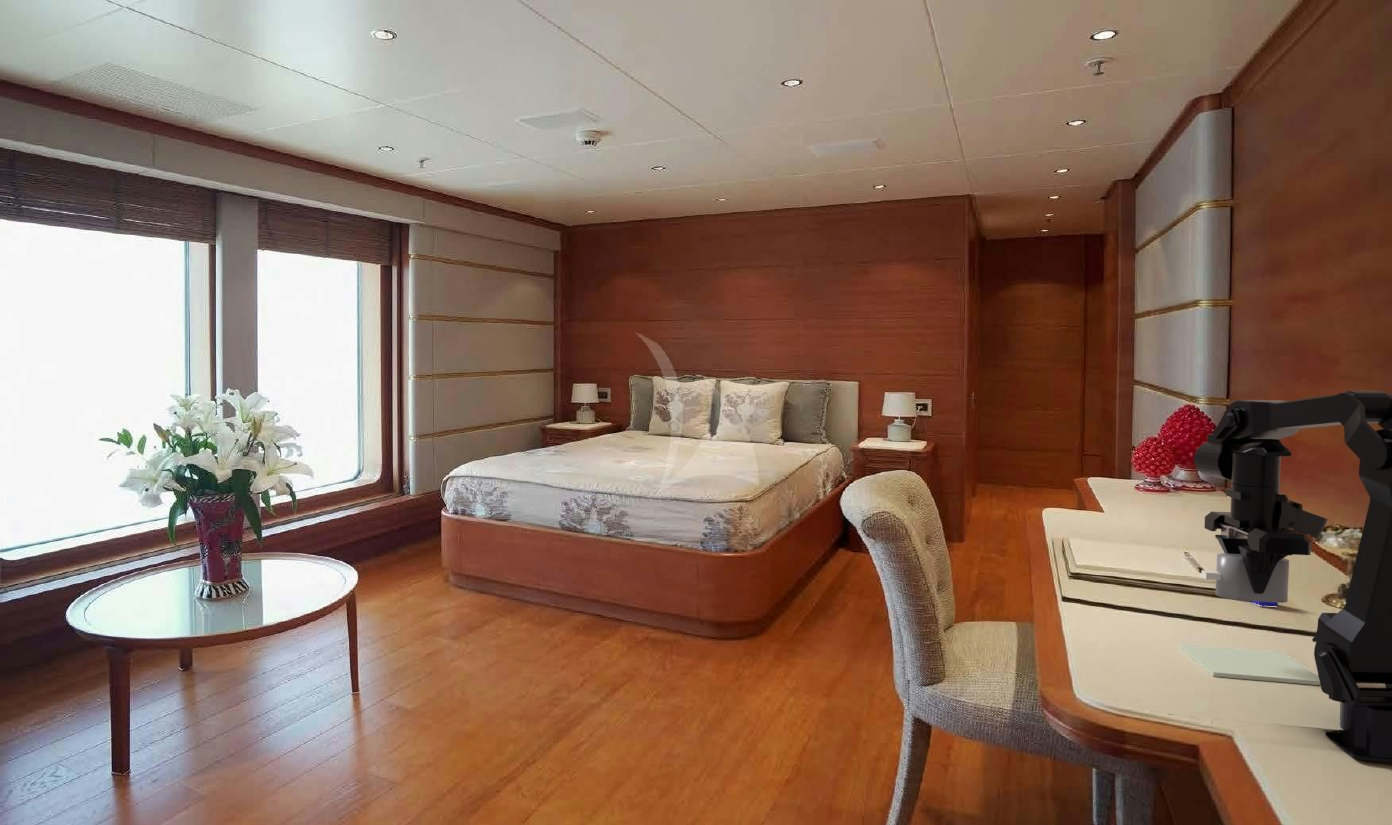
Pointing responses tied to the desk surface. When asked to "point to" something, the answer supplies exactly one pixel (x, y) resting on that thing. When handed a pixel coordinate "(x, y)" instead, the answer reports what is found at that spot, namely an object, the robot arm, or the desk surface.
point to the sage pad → (1250, 664)
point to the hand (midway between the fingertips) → (1251, 589)
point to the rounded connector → (1247, 580)
